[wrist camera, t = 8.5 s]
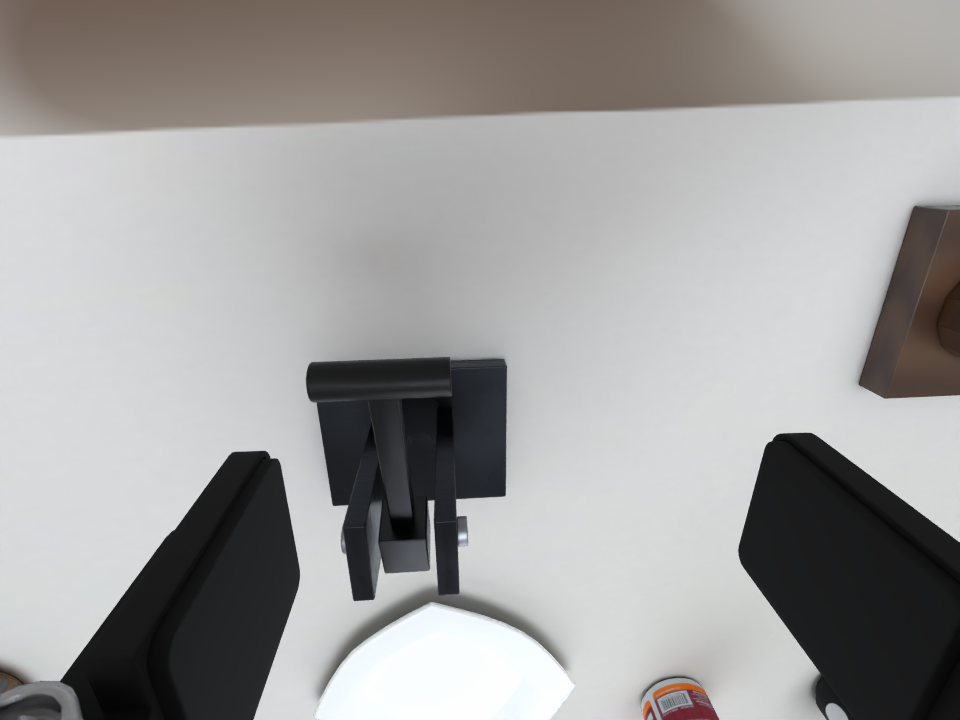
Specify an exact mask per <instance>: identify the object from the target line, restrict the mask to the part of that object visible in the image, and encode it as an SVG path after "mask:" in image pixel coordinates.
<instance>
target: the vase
mask: <svg viewBox="0 0 960 720" xmlns="http://www.w3.org/2000/svg"><path fill="white" fill-rule="evenodd" d="M18 686H22V683H21V682H20V681H19V680H17V679H16V678H14V677H13V676H10V675H8V674H5V673H1V672H0V694H2V693H4V692H6V691H9V690H11V689H13V688H16V687H18Z"/></svg>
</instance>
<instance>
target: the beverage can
mask: <svg viewBox="0 0 960 720" xmlns="http://www.w3.org/2000/svg"><path fill="white" fill-rule="evenodd" d="M816 704H817V706H818V708H819V709H820V711H821V712H822V713H823V715H824V716H825V718H826V719H827V720H854V718H853V717H852V716H851V714H850V713H849V712H848V710H847V709H846V707H845V706H844V705H843V703H842V702H841V701H840V699H839V698H838V696H837V695H836V694H835V692H834V691H833V690H832V688H831V687H830V685H829V684H828V683H827V681H826V680H825V679H824V677H822V678H821V679H820V680H819V682H818V684H817V686H816Z"/></svg>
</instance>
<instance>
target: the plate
mask: <svg viewBox="0 0 960 720" xmlns="http://www.w3.org/2000/svg"><path fill="white" fill-rule="evenodd" d="M574 686H575V682H574V681H573V680H572V678H571V677H570V676H569V675H568V673H567V672H566V671H565V670H564V668H563V667H562V666H561V665H560V664H559V663H558V662H557V660H556V659H555V658H554V657H553V656H552V655H551V654H550V653H549V652H548V651H547V650H546V649H545V648H544V647H543V646H542V645H540V644H539V643H538V642H537V641H536V640H534V639H533V638H531V637H530V636H528V635H527V634H525V633H524V632H523V631H521V630H519V629H517V628H515V627H513V626H510V625H508V624H506V623H504V622H501V621H499V620H496V619H493V618H490V617H487V616H484V615H481V614H478V613H474V612H470V611H466V610H463V609H459V608H455V607H451V606H447V605H443V604H439V603H435V602H430V603H428V604H426V605H424V606H422V607H420V608H418V609H416V610H414V611H412V612H410V613H408V614H407V615H405V616H403V617H401V618H400V619H398V620H396V621H394V622H392V623H391V624H389V625H387V626H386V627H384V628H383V629H381V630H379V631H378V632H376V633H375V634H373V635H372V636H370V637H369V638H367V639H366V640H365V641H364V642H362V643H361V644H360V645H359V646H357V647H356V648H355V649H354V650H352V651H351V653H350V654H349V655H348V656H347V657H346V659H345V660H344V661H343V662H342V663H341V665H340V666H339V667H338V669H337V671H336V672H335V674H334V675H333V677H332V678H331V680H330V681H329V683H328V685H327V687H326V689H325V691H324V693H323V695H322V697H321V699H320V701H319V703H318V705H317V708H316V710H315V712H314V717H315V718H317V719H318V720H550V718H551V717H552V716H553V715H554V714H555V712H556V711H557V710H558V708H559V707H560V706H561V705H562V703H563V702H564V701H565V699H566V698H567V696H568V695H569V693H570V692H571V690H572V689H573V688H574Z"/></svg>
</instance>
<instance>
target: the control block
mask: <svg viewBox="0 0 960 720" xmlns="http://www.w3.org/2000/svg"><path fill="white" fill-rule="evenodd" d="M859 385H860V386H862V387H864V388H866V389H868V390H870V391H872V392H873V393H875V394H877V395H879V396H881V397H883V398H907V397H929V396H951V395H960V205H959V206H916V207H914V210H913V213H912V216H911V220H910V223H909V226H908V229H907V232H906V236H905V239H904V242H903V245H902V248H901V252H900V255H899V258H898V261H897V264H896V268H895V271H894V274H893V277H892V280H891V284H890V287H889V290H888V293H887V296H886V300H885V303H884V306H883V309H882V312H881V316H880V319H879V322H878V325H877V328H876V332H875V335H874V338H873V341H872V344H871V348H870V351H869V354H868V357H867V360H866V364H865V367H864V370H863V373H862V376H861V380H860V383H859Z"/></svg>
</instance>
